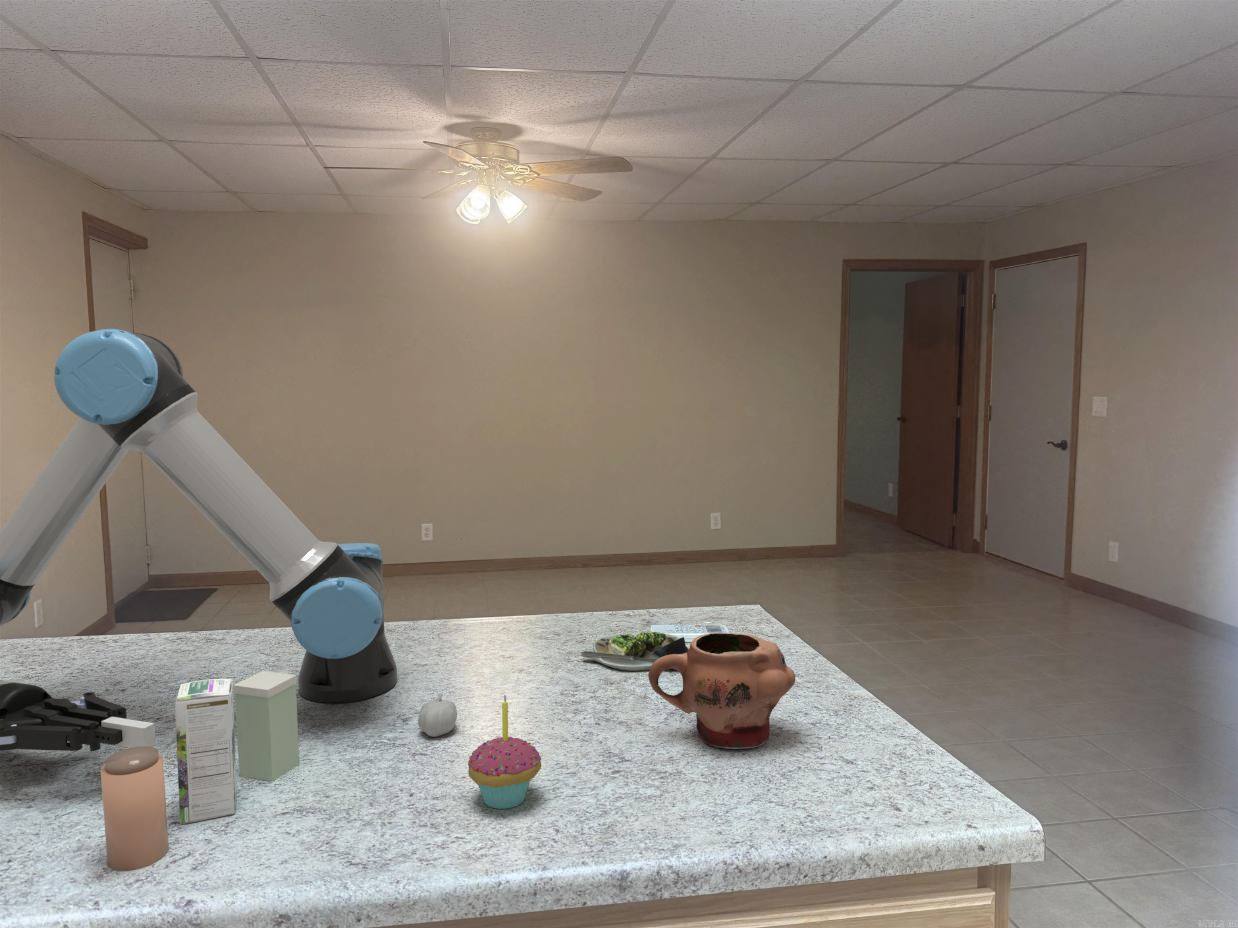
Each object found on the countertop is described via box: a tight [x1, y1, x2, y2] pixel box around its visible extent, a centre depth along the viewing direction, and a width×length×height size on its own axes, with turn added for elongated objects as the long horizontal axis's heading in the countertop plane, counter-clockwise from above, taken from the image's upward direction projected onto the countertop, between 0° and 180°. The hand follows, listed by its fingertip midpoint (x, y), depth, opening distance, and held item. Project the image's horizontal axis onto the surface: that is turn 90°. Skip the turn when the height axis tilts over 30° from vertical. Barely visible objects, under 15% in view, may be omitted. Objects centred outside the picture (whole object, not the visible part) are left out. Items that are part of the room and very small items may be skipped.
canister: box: [100, 746, 170, 872], centre depth 88 cm, size 6×6×11 cm
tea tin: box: [233, 670, 300, 783], centre depth 106 cm, size 5×5×12 cm
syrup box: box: [174, 678, 238, 825], centre depth 97 cm, size 6×6×14 cm
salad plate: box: [580, 631, 689, 672], centre depth 148 cm, size 19×18×5 cm
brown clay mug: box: [647, 632, 796, 750], centre depth 115 cm, size 20×12×14 cm, turn 97°
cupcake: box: [467, 694, 542, 810], centre depth 99 cm, size 9×8×12 cm
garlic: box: [417, 693, 458, 738], centre depth 118 cm, size 6×5×5 cm
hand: (149, 736), depth 99 cm, fingers closed
